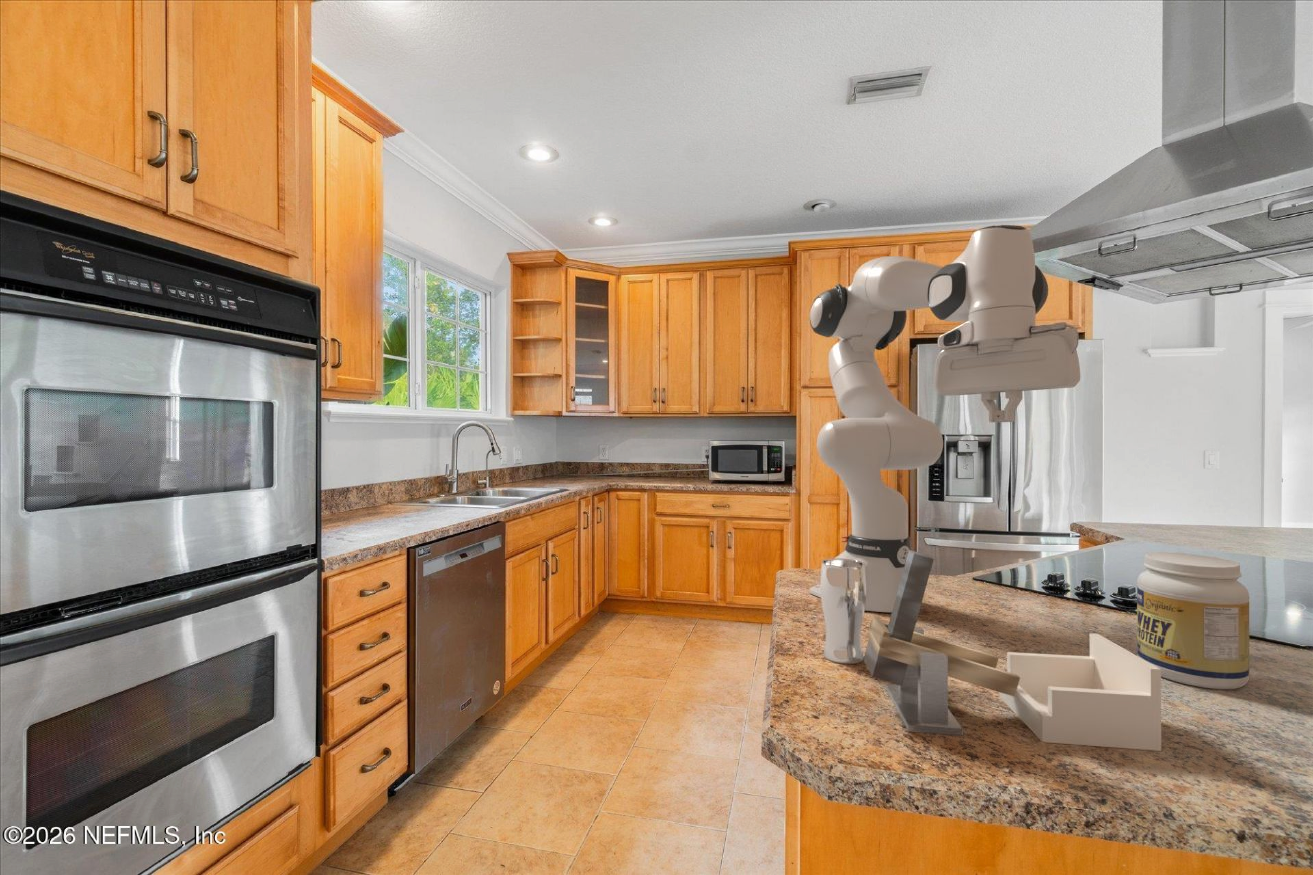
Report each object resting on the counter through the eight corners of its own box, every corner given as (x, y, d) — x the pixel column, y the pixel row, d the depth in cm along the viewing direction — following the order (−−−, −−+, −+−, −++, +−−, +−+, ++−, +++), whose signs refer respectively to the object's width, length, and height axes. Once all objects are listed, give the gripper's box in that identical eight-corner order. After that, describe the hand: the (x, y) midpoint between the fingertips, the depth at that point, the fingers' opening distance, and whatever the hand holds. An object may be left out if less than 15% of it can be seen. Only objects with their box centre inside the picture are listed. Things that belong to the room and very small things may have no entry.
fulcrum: (908, 731, 69) (907, 655, 69) (886, 689, 81) (885, 624, 81) (962, 735, 68) (962, 658, 68) (932, 692, 80) (932, 626, 80)
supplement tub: (1117, 657, 93) (1117, 549, 93) (1201, 660, 91) (1200, 551, 91) (1178, 690, 80) (1177, 566, 80) (1276, 694, 79) (1275, 568, 79)
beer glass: (834, 645, 98) (833, 556, 98) (874, 656, 93) (874, 562, 93) (812, 656, 93) (811, 562, 93) (853, 669, 88) (853, 569, 88)
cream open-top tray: (1042, 741, 67) (1042, 662, 67) (999, 696, 79) (998, 629, 79) (1161, 750, 65) (1160, 669, 65) (1098, 702, 77) (1098, 633, 77)
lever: (872, 679, 72) (906, 554, 71) (860, 655, 80) (891, 542, 79) (1009, 722, 69) (1046, 592, 69) (983, 693, 77) (1016, 576, 76)
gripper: (1089, 321, 82) (1089, 420, 82) (951, 342, 100) (951, 423, 100) (1066, 317, 79) (1066, 420, 79) (928, 339, 97) (928, 423, 97)
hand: (1001, 422), depth 90 cm, fingers closed
